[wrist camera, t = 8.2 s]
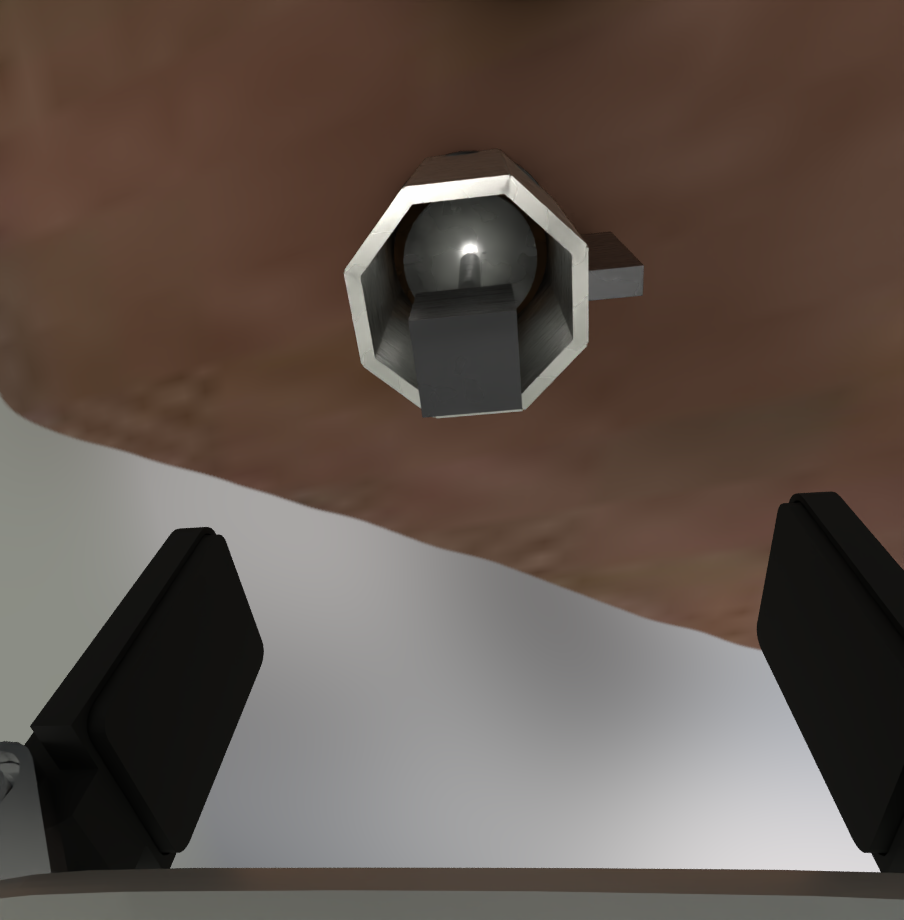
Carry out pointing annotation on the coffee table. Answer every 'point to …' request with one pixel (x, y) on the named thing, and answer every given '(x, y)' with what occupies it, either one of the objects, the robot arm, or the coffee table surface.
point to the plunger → (468, 303)
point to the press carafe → (539, 315)
